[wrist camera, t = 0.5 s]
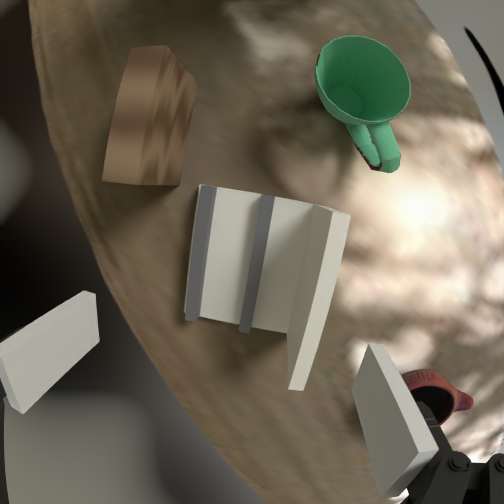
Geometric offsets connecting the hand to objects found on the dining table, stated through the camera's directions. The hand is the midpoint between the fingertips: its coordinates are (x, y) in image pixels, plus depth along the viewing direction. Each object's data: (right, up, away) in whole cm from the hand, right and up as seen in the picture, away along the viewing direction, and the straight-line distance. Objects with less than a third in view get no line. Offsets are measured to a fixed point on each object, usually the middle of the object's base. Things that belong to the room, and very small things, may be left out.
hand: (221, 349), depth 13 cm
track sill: (+2, +3, +25) cm, 25 cm away
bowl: (+28, -18, +27) cm, 43 cm away
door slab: (-9, +20, +22) cm, 31 cm away
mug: (+14, +21, +20) cm, 32 cm away
